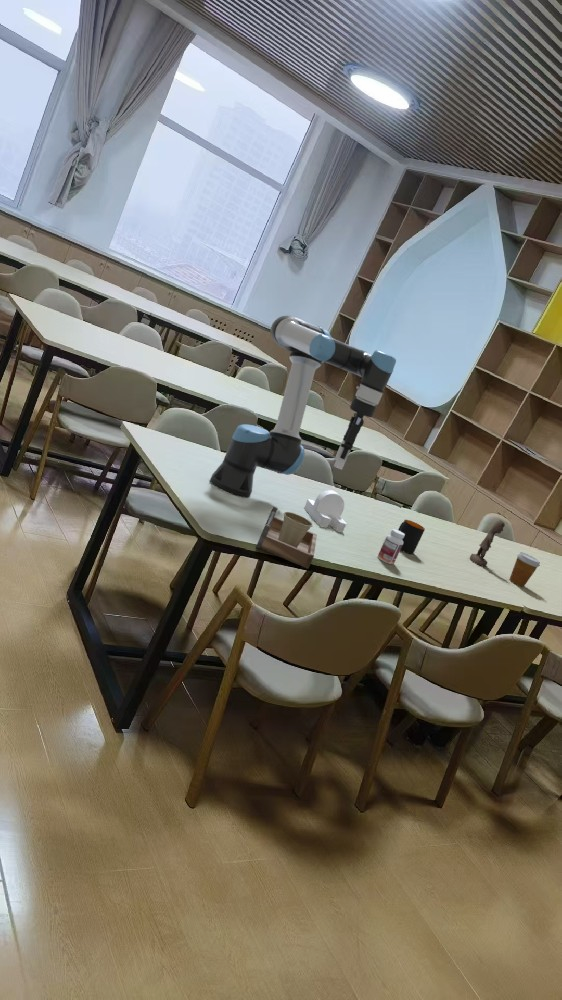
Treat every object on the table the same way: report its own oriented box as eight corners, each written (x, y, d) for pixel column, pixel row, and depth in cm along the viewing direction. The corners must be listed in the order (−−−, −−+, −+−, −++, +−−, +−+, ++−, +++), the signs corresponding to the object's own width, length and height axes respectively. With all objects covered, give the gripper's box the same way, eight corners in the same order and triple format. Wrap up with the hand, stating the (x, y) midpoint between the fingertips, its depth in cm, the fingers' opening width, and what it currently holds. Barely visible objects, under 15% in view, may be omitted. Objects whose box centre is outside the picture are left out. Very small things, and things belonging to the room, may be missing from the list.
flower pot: (302, 546, 232) (313, 521, 230) (301, 554, 223) (312, 528, 221) (274, 534, 232) (285, 509, 230) (271, 542, 223) (282, 516, 221)
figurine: (489, 569, 313) (511, 526, 309) (473, 563, 311) (495, 520, 307) (480, 560, 322) (501, 518, 317) (465, 555, 320) (486, 513, 315)
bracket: (343, 533, 272) (356, 505, 269) (318, 526, 268) (331, 497, 265) (326, 514, 289) (338, 488, 286) (302, 507, 285) (314, 480, 282)
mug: (402, 543, 294) (413, 519, 292) (417, 556, 284) (429, 531, 281) (384, 537, 291) (396, 513, 288) (399, 551, 280) (411, 526, 278)
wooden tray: (264, 525, 240) (273, 506, 238) (312, 545, 240) (320, 526, 238) (255, 546, 215) (265, 525, 214) (308, 569, 215) (317, 547, 214)
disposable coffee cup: (502, 575, 312) (515, 549, 310) (522, 582, 314) (535, 557, 311) (510, 583, 303) (524, 557, 300) (531, 591, 305) (545, 565, 302)
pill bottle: (387, 558, 263) (400, 530, 261) (397, 566, 258) (410, 537, 255) (373, 554, 260) (387, 526, 257) (383, 563, 255) (396, 534, 252)
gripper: (353, 393, 244) (327, 453, 248) (354, 399, 219) (325, 466, 224) (375, 402, 244) (348, 462, 248) (378, 409, 219) (349, 476, 224)
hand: (337, 464), depth 236 cm, fingers open, 13 cm apart
